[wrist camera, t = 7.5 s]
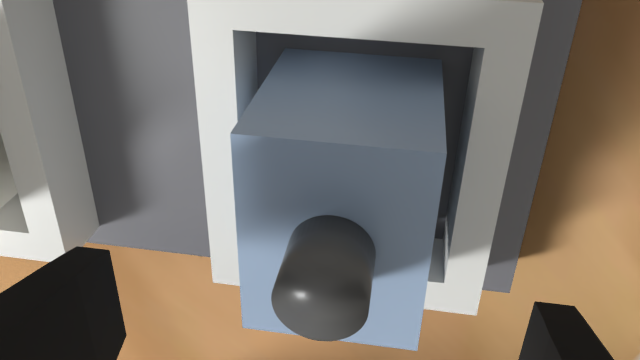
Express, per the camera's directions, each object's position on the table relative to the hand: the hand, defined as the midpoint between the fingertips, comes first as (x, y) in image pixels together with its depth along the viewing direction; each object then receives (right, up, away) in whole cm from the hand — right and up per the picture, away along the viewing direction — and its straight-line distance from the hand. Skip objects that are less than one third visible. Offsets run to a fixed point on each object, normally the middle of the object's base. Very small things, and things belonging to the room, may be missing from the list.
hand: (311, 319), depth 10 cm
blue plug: (+1, +3, +6) cm, 7 cm away
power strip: (-6, +5, +8) cm, 11 cm away
